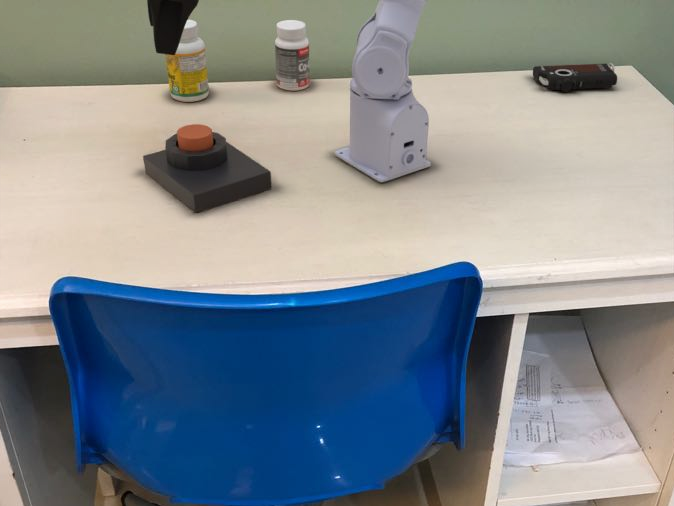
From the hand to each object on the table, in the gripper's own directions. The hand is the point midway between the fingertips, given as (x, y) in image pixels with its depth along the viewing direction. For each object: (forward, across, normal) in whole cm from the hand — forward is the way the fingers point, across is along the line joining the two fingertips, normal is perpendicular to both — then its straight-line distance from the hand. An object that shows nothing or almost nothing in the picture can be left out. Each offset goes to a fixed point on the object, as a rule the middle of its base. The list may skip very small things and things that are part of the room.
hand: (162, 39), depth 99 cm
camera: (+2, -9, +60) cm, 61 cm away
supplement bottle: (+14, -16, +6) cm, 22 cm away
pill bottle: (+11, -17, +21) cm, 29 cm away
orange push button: (+9, +8, +4) cm, 12 cm away
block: (+12, +10, +5) cm, 16 cm away
